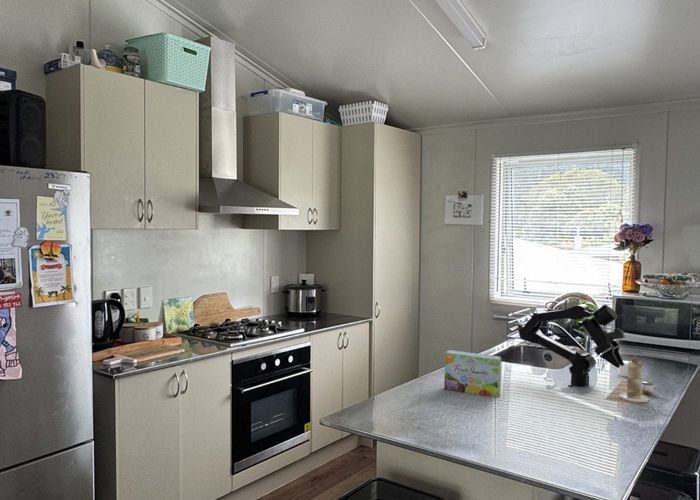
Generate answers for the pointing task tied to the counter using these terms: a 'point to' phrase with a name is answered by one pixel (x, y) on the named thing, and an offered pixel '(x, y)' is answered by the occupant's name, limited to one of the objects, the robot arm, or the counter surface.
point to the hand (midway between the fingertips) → (621, 366)
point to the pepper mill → (634, 379)
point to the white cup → (623, 369)
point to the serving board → (623, 389)
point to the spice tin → (647, 387)
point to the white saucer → (641, 400)
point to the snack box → (472, 373)
